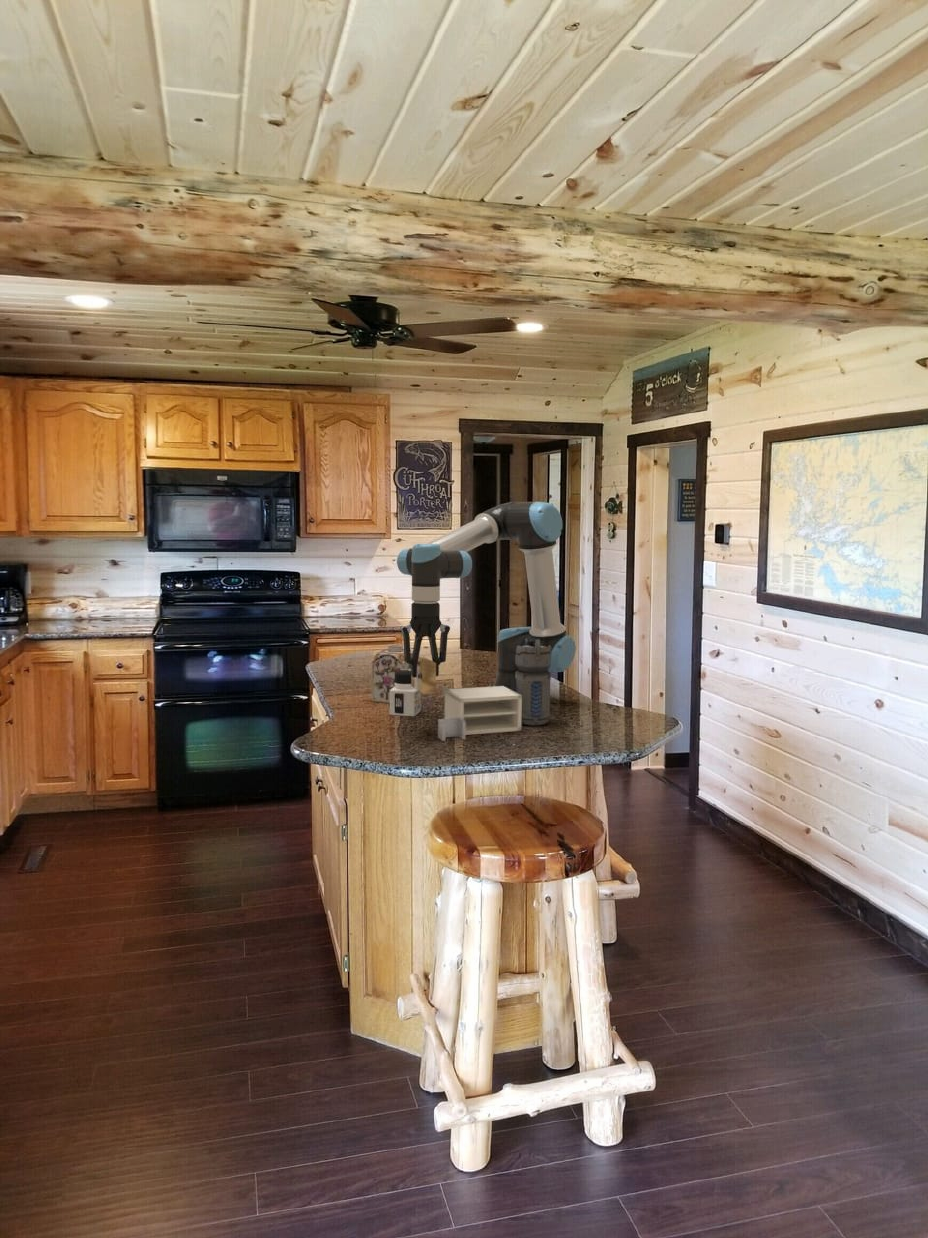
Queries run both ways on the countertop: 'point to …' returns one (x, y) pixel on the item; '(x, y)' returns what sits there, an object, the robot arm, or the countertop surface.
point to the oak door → (426, 676)
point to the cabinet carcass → (484, 708)
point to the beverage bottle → (533, 681)
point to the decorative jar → (387, 671)
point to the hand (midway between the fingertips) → (424, 688)
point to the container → (404, 695)
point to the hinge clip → (451, 728)
